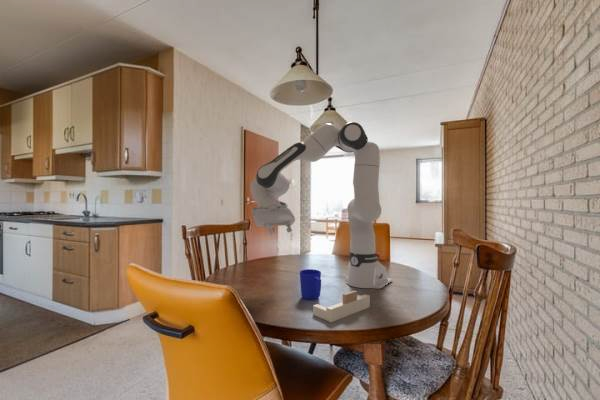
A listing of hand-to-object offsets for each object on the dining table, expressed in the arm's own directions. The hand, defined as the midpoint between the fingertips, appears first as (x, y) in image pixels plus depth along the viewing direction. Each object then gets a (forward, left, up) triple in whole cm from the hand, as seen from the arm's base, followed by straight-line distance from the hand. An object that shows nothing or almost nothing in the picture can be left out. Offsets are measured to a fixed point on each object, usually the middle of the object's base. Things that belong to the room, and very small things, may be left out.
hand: (281, 232), depth 125 cm
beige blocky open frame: (0, +34, -24) cm, 41 cm away
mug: (0, +19, -24) cm, 31 cm away
